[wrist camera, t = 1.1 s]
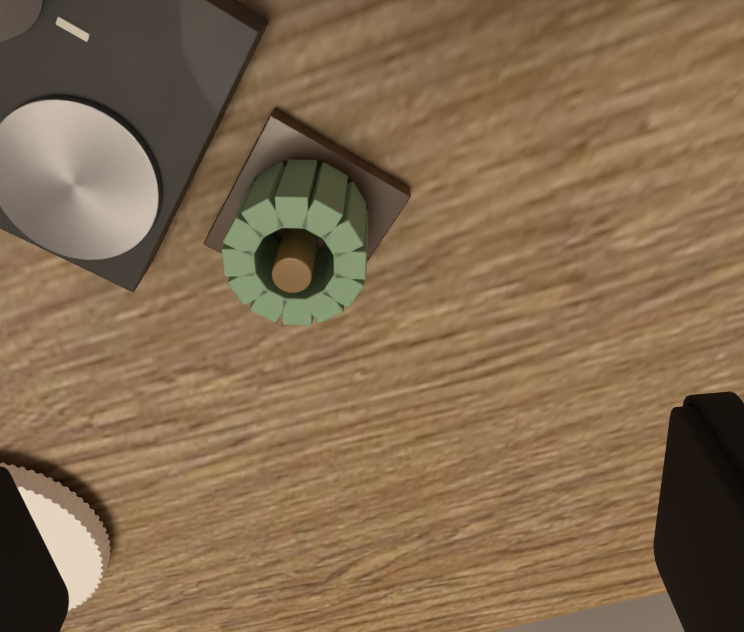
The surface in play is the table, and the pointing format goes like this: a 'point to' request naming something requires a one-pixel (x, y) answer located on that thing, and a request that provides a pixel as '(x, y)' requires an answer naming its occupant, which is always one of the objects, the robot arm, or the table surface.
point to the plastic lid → (66, 532)
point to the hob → (137, 86)
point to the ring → (298, 210)
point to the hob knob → (17, 16)
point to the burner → (77, 178)
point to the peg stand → (301, 143)
